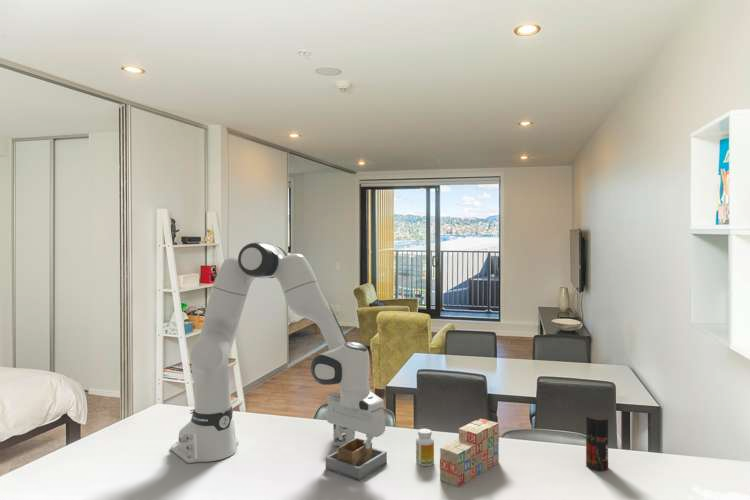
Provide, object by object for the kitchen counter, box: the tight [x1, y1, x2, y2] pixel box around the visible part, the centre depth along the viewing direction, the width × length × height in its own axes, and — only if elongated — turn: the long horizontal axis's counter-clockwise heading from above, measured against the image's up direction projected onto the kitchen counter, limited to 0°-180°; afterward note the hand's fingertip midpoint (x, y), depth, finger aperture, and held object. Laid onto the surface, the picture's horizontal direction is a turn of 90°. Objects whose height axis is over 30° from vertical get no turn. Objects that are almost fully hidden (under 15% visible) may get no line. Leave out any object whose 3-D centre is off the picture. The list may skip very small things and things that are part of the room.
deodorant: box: [585, 412, 609, 472], centre depth 146 cm, size 6×6×15 cm
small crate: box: [336, 437, 373, 467], centre depth 147 cm, size 9×6×6 cm, turn 144°
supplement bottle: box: [415, 428, 435, 467], centre depth 149 cm, size 5×5×10 cm
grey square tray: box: [324, 447, 388, 482], centre depth 147 cm, size 13×14×4 cm
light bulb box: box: [332, 424, 356, 447], centre depth 167 cm, size 11×7×11 cm, turn 179°
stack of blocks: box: [439, 418, 500, 487], centre depth 144 cm, size 21×6×12 cm, turn 135°
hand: (354, 443), depth 147 cm, fingers open, 8 cm apart
